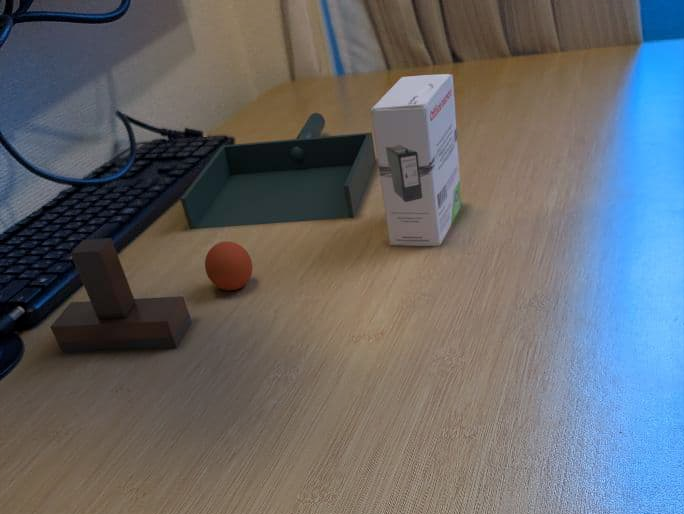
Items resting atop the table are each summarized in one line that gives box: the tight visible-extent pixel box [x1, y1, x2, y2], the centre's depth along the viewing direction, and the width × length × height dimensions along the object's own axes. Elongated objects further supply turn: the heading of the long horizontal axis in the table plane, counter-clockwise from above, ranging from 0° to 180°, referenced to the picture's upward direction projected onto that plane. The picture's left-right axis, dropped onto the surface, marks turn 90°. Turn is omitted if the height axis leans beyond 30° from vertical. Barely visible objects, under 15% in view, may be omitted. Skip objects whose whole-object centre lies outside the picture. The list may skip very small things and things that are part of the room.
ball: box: [204, 241, 253, 291], centre depth 71 cm, size 4×4×4 cm
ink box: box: [370, 73, 462, 247], centre depth 72 cm, size 9×5×12 cm, turn 161°
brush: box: [49, 237, 193, 354], centre depth 65 cm, size 10×4×8 cm, turn 82°
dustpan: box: [180, 112, 377, 230], centre depth 89 cm, size 26×17×3 cm, turn 171°
